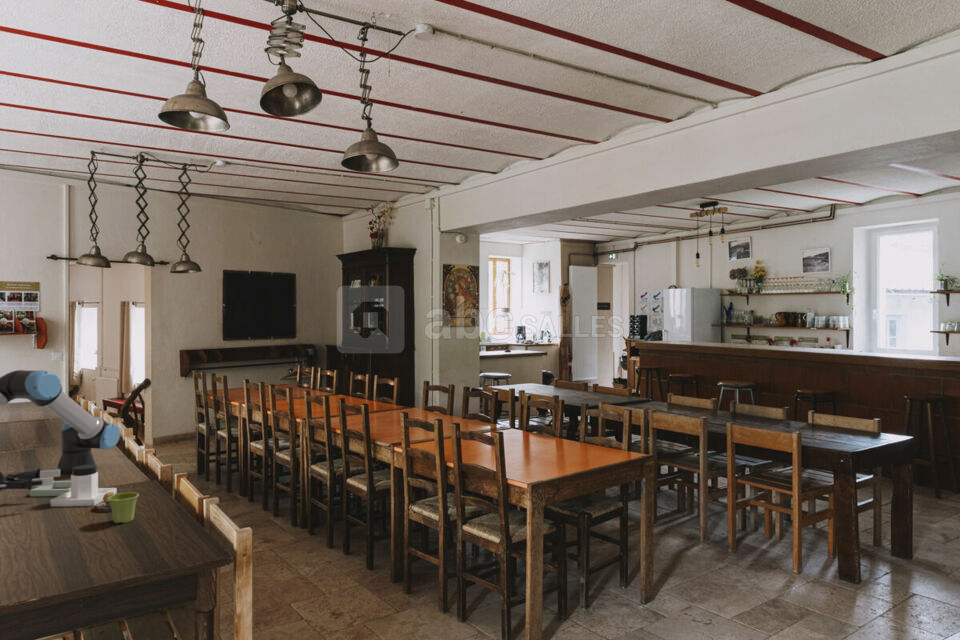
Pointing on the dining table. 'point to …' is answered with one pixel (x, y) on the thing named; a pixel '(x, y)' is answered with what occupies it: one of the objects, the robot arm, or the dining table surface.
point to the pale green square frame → (52, 492)
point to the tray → (67, 501)
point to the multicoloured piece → (104, 504)
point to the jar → (84, 482)
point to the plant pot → (123, 506)
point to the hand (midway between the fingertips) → (56, 476)
